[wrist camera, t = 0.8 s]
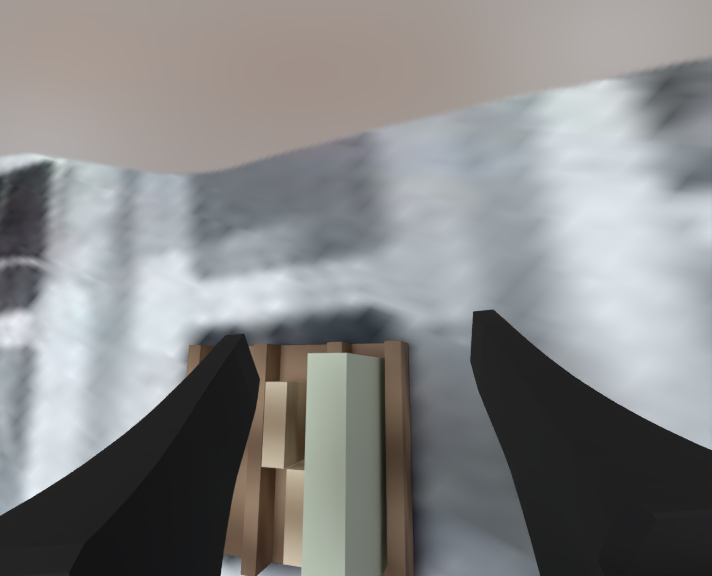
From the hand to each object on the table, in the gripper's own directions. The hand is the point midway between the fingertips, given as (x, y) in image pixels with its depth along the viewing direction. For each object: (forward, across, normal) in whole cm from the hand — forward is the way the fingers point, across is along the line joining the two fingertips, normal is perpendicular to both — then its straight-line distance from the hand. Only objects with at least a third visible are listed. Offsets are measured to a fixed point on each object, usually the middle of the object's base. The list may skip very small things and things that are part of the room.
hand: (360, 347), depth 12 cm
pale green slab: (+6, +1, +14) cm, 15 cm away
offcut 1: (+8, +6, +13) cm, 17 cm away
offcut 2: (+4, +4, +17) cm, 18 cm away
